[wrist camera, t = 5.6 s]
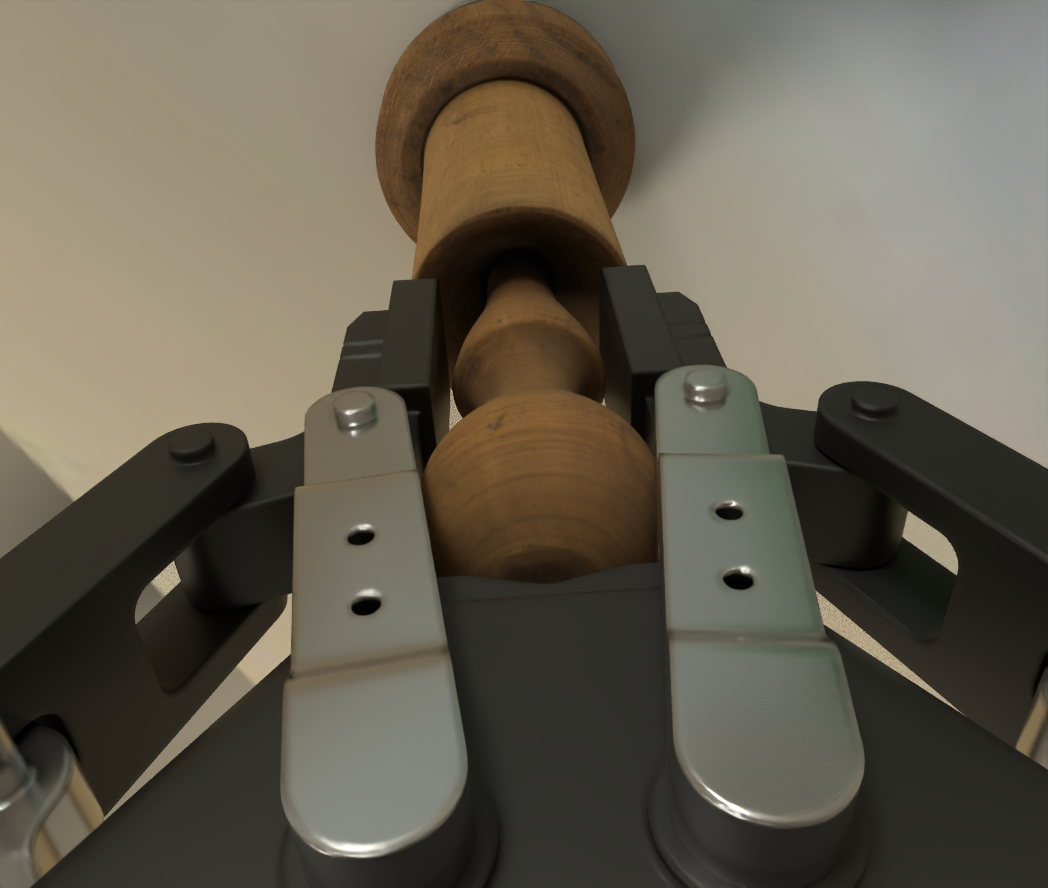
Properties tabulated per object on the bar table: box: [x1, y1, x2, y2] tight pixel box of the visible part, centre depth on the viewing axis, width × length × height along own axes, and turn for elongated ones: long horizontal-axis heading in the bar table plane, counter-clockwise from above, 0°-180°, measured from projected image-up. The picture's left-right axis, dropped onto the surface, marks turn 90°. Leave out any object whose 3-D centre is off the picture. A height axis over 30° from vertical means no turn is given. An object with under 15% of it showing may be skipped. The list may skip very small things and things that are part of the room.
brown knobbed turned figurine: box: [376, 0, 656, 584], centre depth 18 cm, size 7×6×18 cm
